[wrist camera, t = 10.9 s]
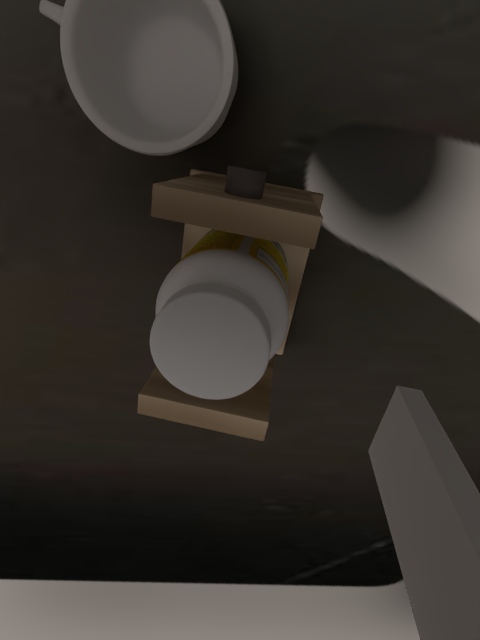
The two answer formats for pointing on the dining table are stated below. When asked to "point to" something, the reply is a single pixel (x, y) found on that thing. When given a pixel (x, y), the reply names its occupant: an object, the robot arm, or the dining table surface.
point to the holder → (245, 219)
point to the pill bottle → (221, 315)
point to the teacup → (149, 68)
